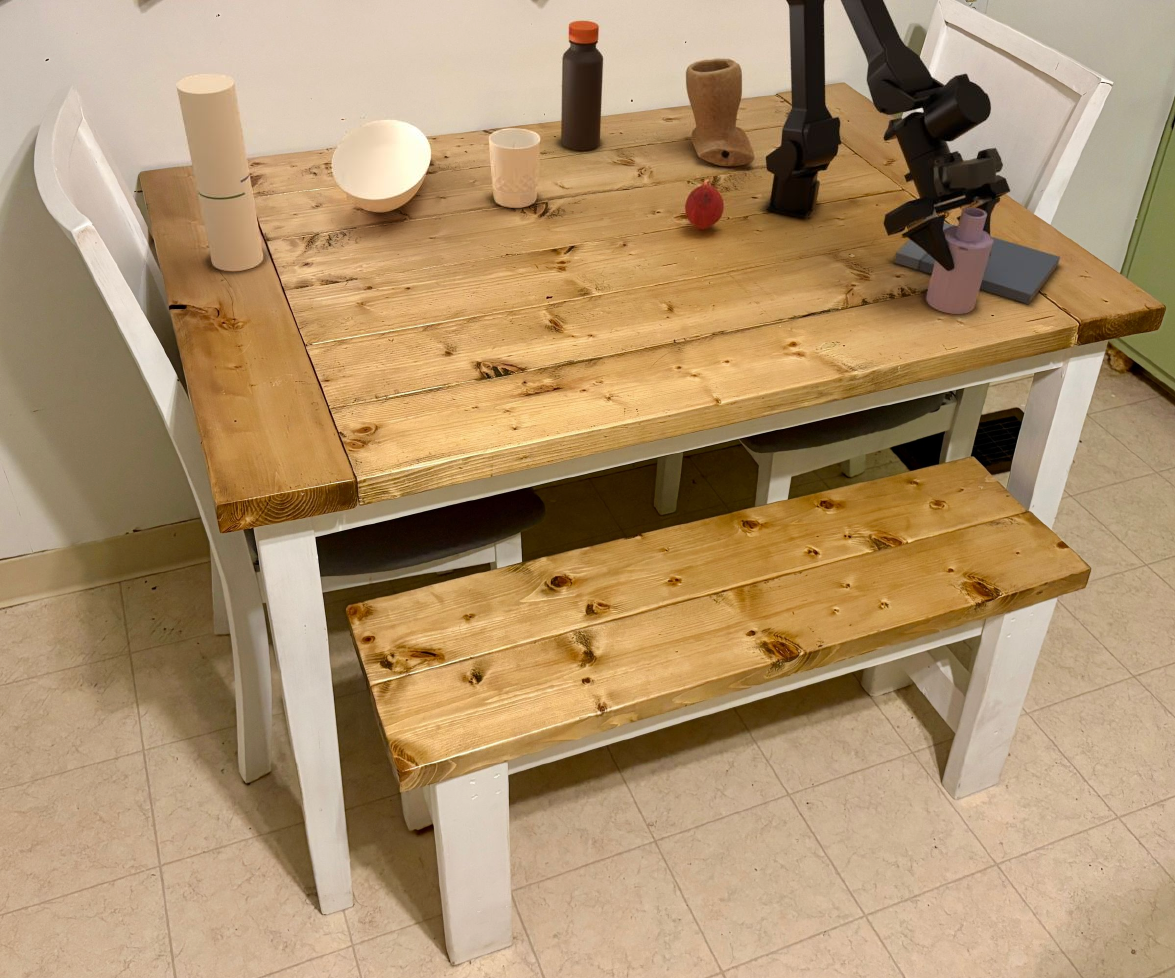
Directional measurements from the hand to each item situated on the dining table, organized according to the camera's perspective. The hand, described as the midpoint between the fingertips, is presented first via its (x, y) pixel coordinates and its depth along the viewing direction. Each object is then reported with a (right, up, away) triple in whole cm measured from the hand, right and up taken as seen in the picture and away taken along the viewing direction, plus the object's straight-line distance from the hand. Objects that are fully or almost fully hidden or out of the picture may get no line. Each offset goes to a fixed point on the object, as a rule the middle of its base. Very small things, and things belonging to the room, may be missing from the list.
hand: (969, 263), depth 152 cm
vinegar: (-53, +30, +44) cm, 75 cm away
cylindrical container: (-102, +2, +8) cm, 102 cm away
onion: (-34, +9, +20) cm, 41 cm away
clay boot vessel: (-30, +28, +43) cm, 59 cm away
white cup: (-63, +15, +26) cm, 70 cm away
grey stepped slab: (+6, +3, +14) cm, 15 cm away
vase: (-1, -4, +5) cm, 7 cm away
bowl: (-84, +16, +26) cm, 89 cm away
